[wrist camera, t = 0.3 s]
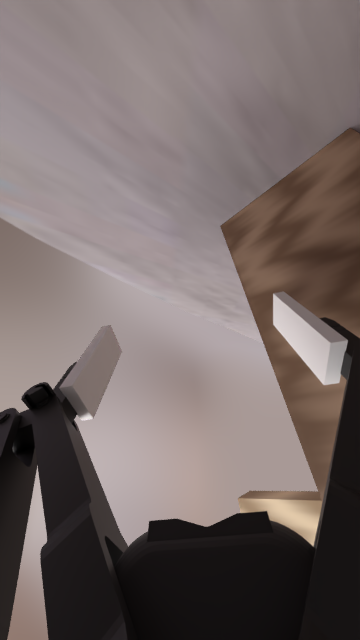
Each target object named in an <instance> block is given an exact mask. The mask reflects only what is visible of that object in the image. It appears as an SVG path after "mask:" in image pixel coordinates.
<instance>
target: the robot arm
mask: <svg viewBox="0 0 360 640" xmlns="http://www.w3.org/2000/svg"><path fill="white" fill-rule="evenodd" d="M273 325H274V326H275V327H276V328H277V330H278V331H279V332H280V333H281V334H282V336H283V337H284V338H285V339H286V340H287V342H288V343H289V344H290V345H291V346H292V348H293V349H294V350H295V351H296V352H297V354H298V355H299V356H300V357H301V358H302V360H303V361H304V362H305V363H306V364H307V366H308V367H309V368H310V369H311V370H312V372H313V373H314V374H315V375H316V376H317V378H318V379H319V380H320V381H321V382H322V384H323V385H329V384H336V383H339V382H340V377H341V375H342V376H343V377H344V378H345V379H346V380H347V381H346V386H345V390H344V396H343V401H342V406H341V411H340V416H339V421H338V426H337V431H336V437H335V442H334V447H333V452H332V457H331V462H330V467H329V472H328V477H327V482H326V487H325V492H324V497H323V502H322V507H321V512H320V517H319V522H318V527H317V531H316V536H315V541H314V546H312V545H311V544H310V543H309V542H308V541H307V540H306V539H304V538H303V537H302V536H301V535H299V534H298V533H296V532H295V531H294V530H292V529H290V528H288V527H286V526H285V525H282V524H280V523H277V522H274V521H271V520H270V519H269V516H268V512H267V511H260V512H249V513H237V514H235V515H233V516H231V517H229V518H226V519H224V520H222V521H220V522H218V523H216V524H214V525H211V526H209V527H204V526H201V525H197V524H194V523H190V522H187V521H183V520H179V519H168V520H156V521H150V522H149V529H148V532H146V533H144V534H143V535H141V536H140V537H139V538H137V539H136V540H135V541H134V542H133V543H132V544H131V545H130V546H129V547H128V546H127V543H126V542H125V540H124V538H123V537H122V535H121V533H120V531H119V528H118V526H117V524H116V521H115V518H114V516H113V514H112V511H111V509H110V506H109V503H108V501H107V499H106V496H105V493H104V491H103V488H102V486H101V483H100V481H99V478H98V476H97V473H96V471H95V469H94V466H93V463H92V461H91V458H90V456H89V453H88V451H87V448H86V446H85V443H84V441H83V439H82V436H81V434H80V431H79V428H78V426H77V424H76V422H75V421H74V419H75V417H76V415H78V416H79V418H80V419H81V420H88V419H93V418H94V416H95V414H96V411H97V409H98V407H99V404H100V402H101V399H102V397H103V395H104V392H105V390H106V388H107V385H108V383H109V381H110V378H111V376H112V374H113V371H114V369H115V367H116V364H117V362H118V360H119V357H120V355H121V353H122V351H121V348H120V346H119V343H118V341H117V339H116V337H115V334H114V332H113V330H112V327H111V325H108V326H103V327H101V329H100V330H99V332H98V333H97V335H96V336H95V337H94V339H93V340H92V342H91V343H90V345H89V346H88V348H87V349H86V350H85V352H84V353H83V354H82V356H81V357H80V359H79V360H78V362H75V363H74V364H73V365H71V366H70V367H69V369H68V370H67V371H66V373H65V374H64V376H63V377H62V379H60V381H59V382H58V384H57V385H56V386H55V388H54V389H53V390H52V388H51V387H50V386H49V384H48V383H46V382H43V383H39V384H37V385H35V386H33V387H31V388H30V389H29V390H27V391H26V392H25V393H24V395H23V396H22V401H23V402H24V403H25V404H26V406H27V407H28V408H29V410H26V411H23V412H21V413H19V412H18V411H17V410H16V409H15V408H10V409H7V410H4V411H3V412H0V640H7V637H8V632H9V627H10V621H11V615H12V610H13V603H14V598H15V592H16V586H17V580H18V575H19V569H20V563H21V556H22V551H23V545H24V539H25V534H26V528H27V522H28V516H29V510H30V505H31V499H32V493H33V487H34V481H35V475H36V470H37V464H38V472H39V479H40V486H41V494H42V501H43V509H44V516H45V523H46V530H47V543H46V544H45V545H44V546H43V547H42V549H41V569H42V579H43V589H44V599H45V609H46V618H47V628H48V638H49V640H360V338H359V337H357V336H356V335H354V334H353V333H351V332H350V331H349V330H346V328H344V327H343V326H341V325H340V324H339V323H337V322H336V321H334V320H332V319H329V318H326V317H323V318H318V317H317V316H315V315H314V314H313V313H311V312H310V311H309V310H307V309H306V308H305V307H303V306H302V305H301V304H299V303H298V302H297V301H296V300H294V299H293V298H292V297H290V296H289V295H288V294H286V293H285V292H284V291H283V292H278V293H273Z"/></svg>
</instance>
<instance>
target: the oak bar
mask: <svg viewBox="0 0 360 640" xmlns="http://www.w3.org/2000/svg"><path fill="white" fill-rule="evenodd" d="M238 501H239V506H240V511H241V513H249V512H260V511H267V512H268V516H269V519H270V520H271V521H274V522H277V523H280V524H282V525H285V526H286V527H288V528H290V529H292V530H294V531H295V532H296V533H298V534H299V535H301V536H302V537H303V538H304V539H306V540H307V541H308V542H309V543H310V544H311V545H312V546H314V541H315V536H316V531H317V527H318V522H319V517H320V512H321V507H322V500H321V497H320V494H319V492H312V491H311V492H310V491H308V492H307V491H301V492H300V491H249V492H247V493H246V494H244V495H242V496H241V497H239V498H238Z"/></svg>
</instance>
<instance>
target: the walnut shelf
mask: <svg viewBox="0 0 360 640" xmlns="http://www.w3.org/2000/svg"><path fill="white" fill-rule="evenodd" d="M220 227H221V229H222V232H223V235H224V237H225V240H226V243H227V246H228V248H229V251H230V254H231V256H232V259H233V262H234V264H235V267H236V270H237V273H238V275H239V278H240V281H241V283H242V286H243V289H244V291H245V294H246V297H247V300H248V302H249V305H250V308H251V310H252V313H253V316H254V318H255V321H256V324H257V327H258V329H259V332H260V335H261V337H262V340H263V343H264V345H265V348H266V351H267V354H268V356H269V359H270V362H271V364H272V367H273V370H274V372H275V375H276V378H277V381H278V383H279V386H280V389H281V391H282V394H283V397H284V399H285V402H286V405H287V408H288V410H289V413H290V416H291V418H292V421H293V423H294V426H295V429H296V432H297V434H298V437H299V440H300V443H301V445H302V448H303V451H304V454H305V456H306V459H307V461H308V464H309V467H310V470H311V472H312V475H313V478H314V480H315V483H316V486H317V489H318V491H319V494H320V497H321V500H322V502H323V497H324V492H325V487H326V482H327V477H328V472H329V467H330V462H331V457H332V452H333V447H334V442H335V437H336V431H337V426H338V421H339V416H340V411H341V406H342V401H343V396H344V390H345V386H346V381H347V380H346V379H345V378H344V377H343V376H342V375H341V377H340V382H339V383H336V384H329V385H323V384H322V382H321V381H320V380H319V379H318V378H317V376H316V375H315V374H314V373H313V372H312V370H311V369H310V368H309V367H308V366H307V364H306V363H305V362H304V361H303V360H302V358H301V357H300V356H299V355H298V354H297V352H296V351H295V350H294V349H293V348H292V346H291V345H290V344H289V343H288V342H287V340H286V339H285V338H284V337H283V336H282V334H281V333H280V332H279V331H278V330H277V328H276V327H275V326H274V325H273V293H278V292H283V291H284V292H285V293H286V294H288V295H289V296H290V297H292V298H293V299H294V300H296V301H297V302H298V303H299V304H301V305H302V306H303V307H305V308H306V309H307V310H309V311H310V312H311V313H313V314H314V315H315V316H317V317H318V318H323V317H326V318H329V319H332V320H334V321H336V322H337V323H339V324H340V325H341V326H343V327H344V328H346V330H349V331H350V332H351V333H353V334H354V335H356V336H357V337H359V338H360V133H358V132H356V131H355V130H353V129H351V128H349V129H348V130H347V131H345V132H344V133H343V134H341V135H340V136H339V137H337V138H336V139H335V140H333V141H332V142H331V143H329V144H328V145H327V146H325V147H324V148H323V149H321V150H320V151H319V152H318V153H316V154H315V155H314V156H312V157H311V158H310V159H308V160H307V161H306V162H304V163H303V164H302V165H300V166H299V167H298V168H296V169H295V170H294V171H292V172H291V173H290V174H289V175H287V176H286V177H285V178H283V179H282V180H281V181H279V182H278V183H277V184H275V185H274V186H273V187H271V188H270V189H269V190H267V191H266V192H265V193H263V194H262V195H261V196H260V197H258V198H257V199H256V200H254V201H253V202H252V203H250V204H249V205H248V206H246V207H245V208H244V209H242V210H241V211H240V212H238V213H237V214H236V215H234V216H233V217H232V218H231V219H229V220H228V221H227V222H225V223H224V224H223V225H221V226H220Z"/></svg>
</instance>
